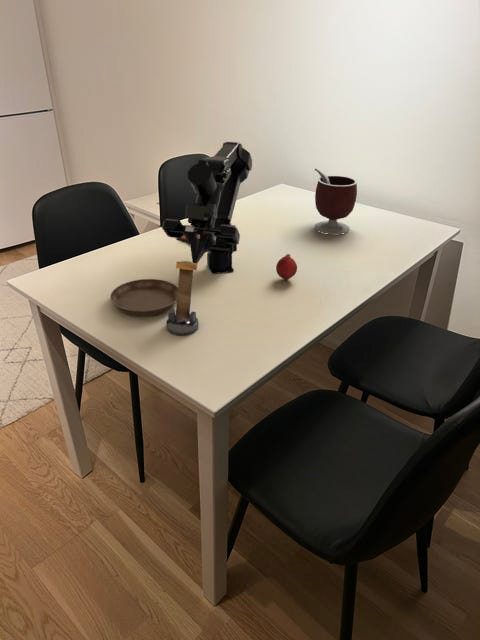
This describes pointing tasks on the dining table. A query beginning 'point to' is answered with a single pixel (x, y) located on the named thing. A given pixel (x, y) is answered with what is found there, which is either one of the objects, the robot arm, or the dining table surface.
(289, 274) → the onion
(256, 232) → the dining table surface
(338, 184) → the mate gourd
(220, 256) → the robot arm
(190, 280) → the brown capped cylinder
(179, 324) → the tribrach base
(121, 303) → the plant saucer
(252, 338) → the dining table surface
